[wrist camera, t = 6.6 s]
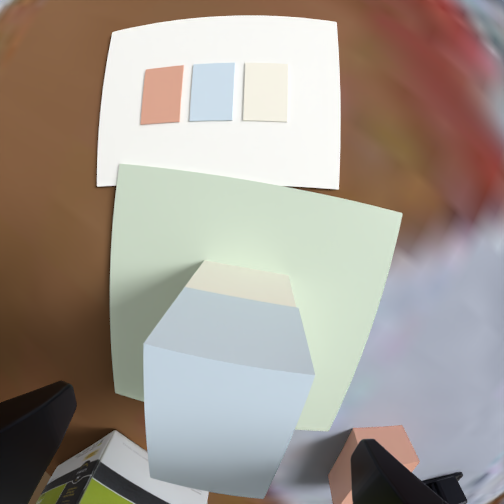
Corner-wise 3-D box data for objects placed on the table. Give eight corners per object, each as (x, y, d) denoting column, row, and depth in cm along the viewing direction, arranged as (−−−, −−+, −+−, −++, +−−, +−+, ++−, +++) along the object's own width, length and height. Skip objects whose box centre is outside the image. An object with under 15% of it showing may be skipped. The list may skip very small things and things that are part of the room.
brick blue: (264, 426, 12) (263, 498, 8) (175, 410, 12) (150, 477, 8) (298, 307, 10) (315, 375, 6) (185, 286, 10) (143, 343, 6)
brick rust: (372, 471, 18) (382, 506, 14) (327, 474, 18) (334, 512, 14) (401, 423, 17) (419, 461, 13) (352, 426, 17) (365, 469, 13)
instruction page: (337, 189, 14) (339, 189, 13) (98, 186, 14) (95, 186, 14) (335, 23, 12) (337, 21, 11) (114, 33, 12) (111, 31, 12)
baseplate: (327, 427, 17) (328, 431, 16) (117, 389, 17) (115, 392, 16) (399, 212, 14) (402, 213, 13) (123, 163, 14) (119, 163, 13)
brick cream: (264, 377, 16) (264, 427, 12) (192, 363, 16) (174, 411, 12) (288, 275, 14) (296, 309, 10) (204, 260, 14) (183, 288, 10)
